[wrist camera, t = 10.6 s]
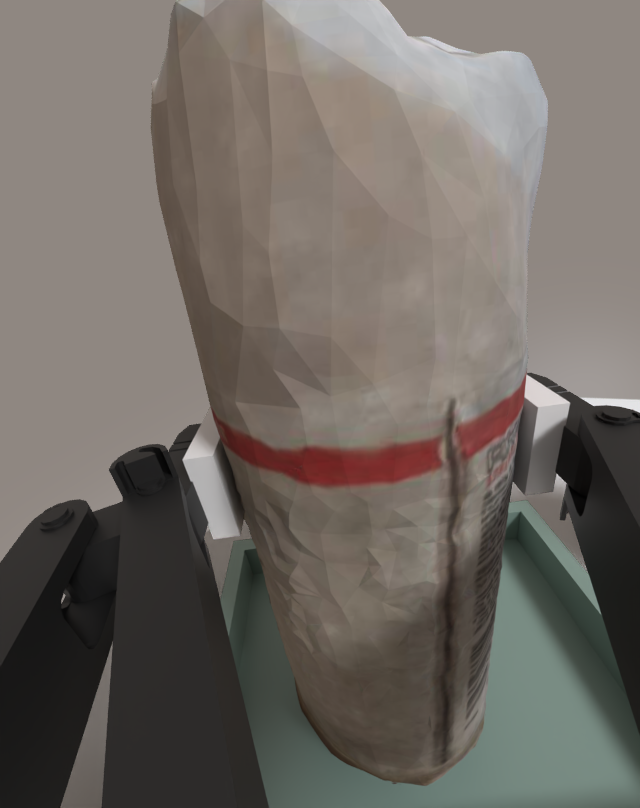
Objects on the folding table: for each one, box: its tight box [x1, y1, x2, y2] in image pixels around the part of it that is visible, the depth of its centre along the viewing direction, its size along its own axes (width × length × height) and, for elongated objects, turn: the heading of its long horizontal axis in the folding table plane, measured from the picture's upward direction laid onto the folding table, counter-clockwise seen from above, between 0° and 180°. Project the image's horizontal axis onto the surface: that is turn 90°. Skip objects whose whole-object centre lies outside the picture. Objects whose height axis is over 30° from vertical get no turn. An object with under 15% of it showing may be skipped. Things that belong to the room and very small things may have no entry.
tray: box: [220, 500, 640, 808], centre depth 16 cm, size 18×14×3 cm
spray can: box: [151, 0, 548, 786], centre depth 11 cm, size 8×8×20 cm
